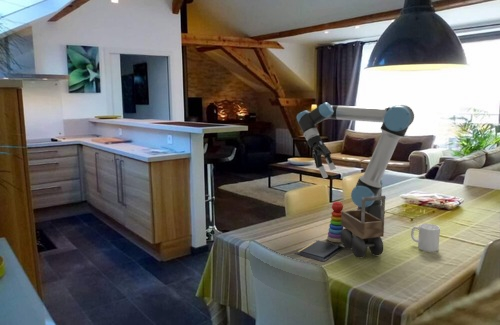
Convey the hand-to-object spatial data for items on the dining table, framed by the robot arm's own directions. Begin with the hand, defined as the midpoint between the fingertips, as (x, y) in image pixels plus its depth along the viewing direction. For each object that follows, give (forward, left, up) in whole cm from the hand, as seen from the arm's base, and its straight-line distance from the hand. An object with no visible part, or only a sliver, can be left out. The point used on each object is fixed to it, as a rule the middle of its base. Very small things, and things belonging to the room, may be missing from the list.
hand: (329, 173), depth 205 cm
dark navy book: (+20, +32, -28) cm, 47 cm away
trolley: (+3, +38, -27) cm, 47 cm away
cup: (-26, +42, -27) cm, 57 cm away
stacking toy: (+7, +23, -27) cm, 36 cm away
